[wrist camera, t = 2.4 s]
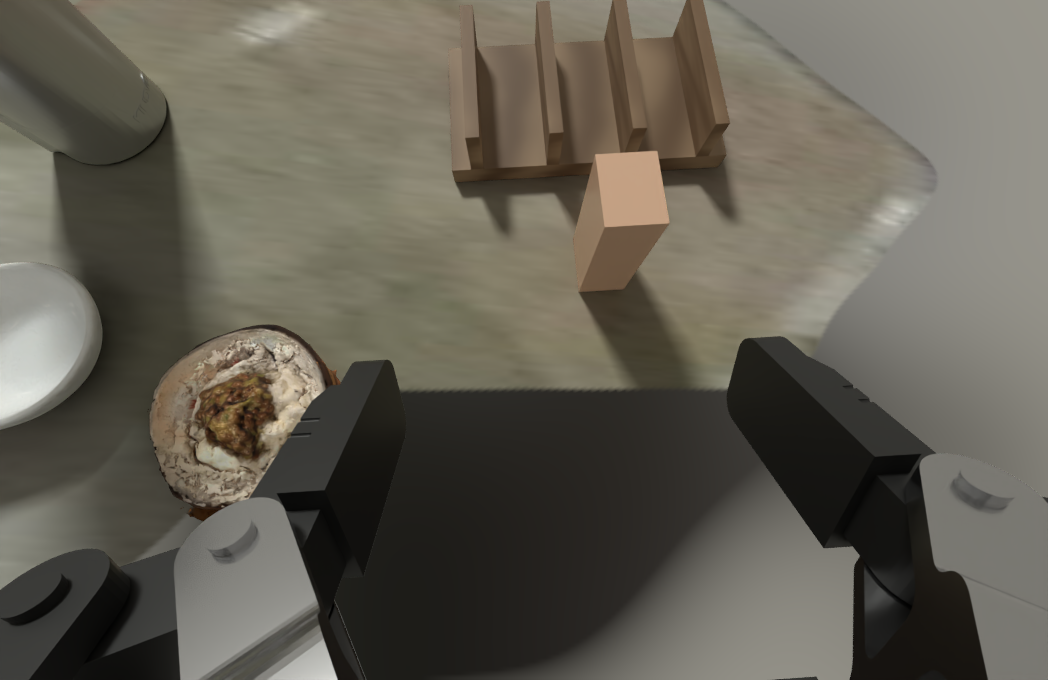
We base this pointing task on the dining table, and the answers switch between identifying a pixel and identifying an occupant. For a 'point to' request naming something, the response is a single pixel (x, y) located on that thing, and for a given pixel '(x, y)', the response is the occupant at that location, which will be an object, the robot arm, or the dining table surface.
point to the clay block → (619, 219)
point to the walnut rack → (585, 99)
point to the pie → (232, 412)
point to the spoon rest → (43, 339)
